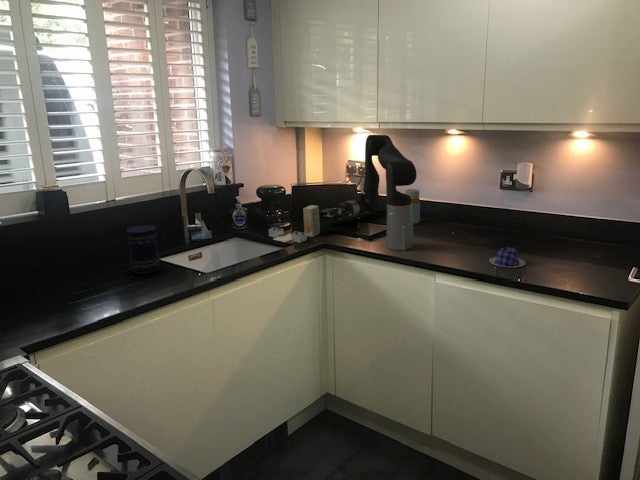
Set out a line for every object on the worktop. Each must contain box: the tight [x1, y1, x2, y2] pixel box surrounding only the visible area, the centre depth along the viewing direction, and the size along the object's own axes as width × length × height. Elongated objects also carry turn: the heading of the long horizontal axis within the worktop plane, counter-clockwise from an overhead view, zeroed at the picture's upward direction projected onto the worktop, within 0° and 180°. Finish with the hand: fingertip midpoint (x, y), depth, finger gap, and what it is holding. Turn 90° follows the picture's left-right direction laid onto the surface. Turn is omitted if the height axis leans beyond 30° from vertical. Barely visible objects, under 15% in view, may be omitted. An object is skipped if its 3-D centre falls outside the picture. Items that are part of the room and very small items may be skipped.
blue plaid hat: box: [488, 246, 526, 268], centre depth 189 cm, size 12×12×5 cm
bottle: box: [404, 188, 421, 226], centre depth 245 cm, size 7×7×15 cm
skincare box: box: [302, 204, 321, 238], centre depth 232 cm, size 6×4×12 cm
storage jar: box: [126, 224, 161, 274], centre depth 194 cm, size 10×10×15 cm
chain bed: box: [268, 226, 308, 244], centre depth 229 cm, size 18×4×4 cm, turn 50°
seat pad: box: [272, 233, 292, 243], centre depth 229 cm, size 7×10×1 cm
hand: (325, 216), depth 238 cm, fingers open, 8 cm apart
